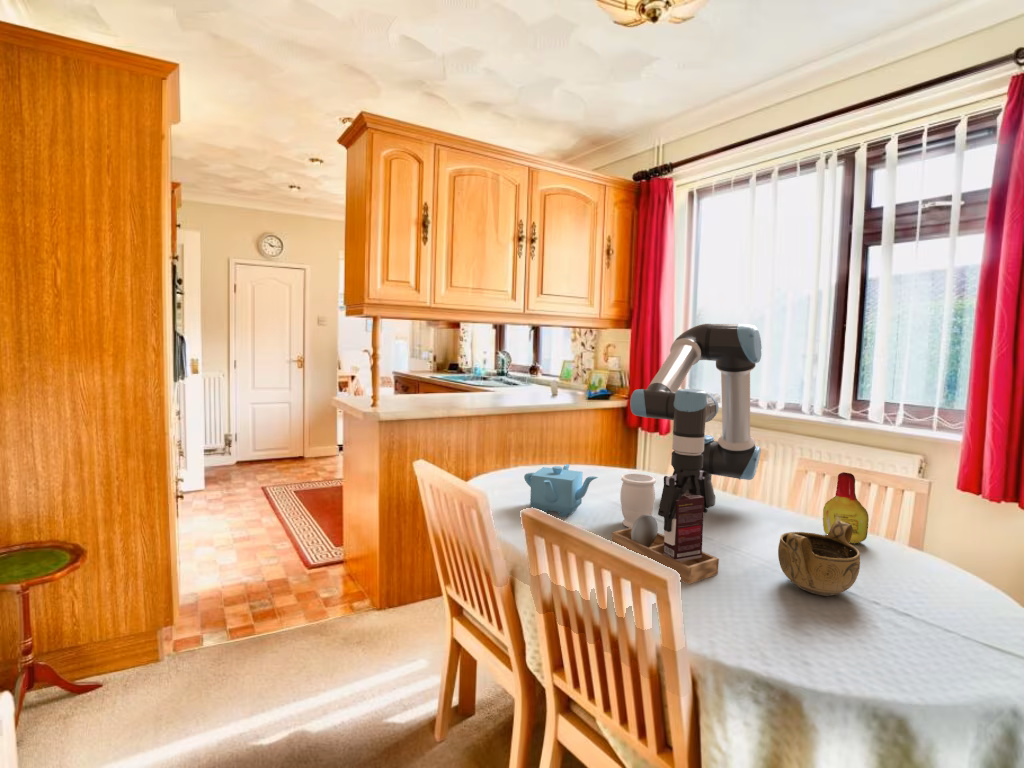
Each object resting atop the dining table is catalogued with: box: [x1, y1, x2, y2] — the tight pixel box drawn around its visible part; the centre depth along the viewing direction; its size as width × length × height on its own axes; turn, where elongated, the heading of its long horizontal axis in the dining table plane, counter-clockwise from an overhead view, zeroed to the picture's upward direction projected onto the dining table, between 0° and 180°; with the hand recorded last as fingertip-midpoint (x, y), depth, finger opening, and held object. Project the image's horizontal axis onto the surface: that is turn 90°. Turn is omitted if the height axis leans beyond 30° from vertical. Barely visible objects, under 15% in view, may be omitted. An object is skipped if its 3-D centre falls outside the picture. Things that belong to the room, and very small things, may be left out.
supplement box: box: [663, 493, 704, 562], centre depth 139 cm, size 9×5×16 cm, turn 112°
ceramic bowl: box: [777, 521, 861, 597], centre depth 130 cm, size 22×17×15 cm
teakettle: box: [524, 463, 598, 518], centre depth 182 cm, size 19×19×15 cm
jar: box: [619, 473, 656, 528], centre depth 170 cm, size 11×10×15 cm
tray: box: [611, 514, 720, 585], centre depth 145 cm, size 11×26×10 cm, turn 33°
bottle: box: [822, 471, 870, 544], centre depth 162 cm, size 12×6×20 cm, turn 32°
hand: (682, 539), depth 140 cm, fingers closed on supplement box, 9 cm apart
